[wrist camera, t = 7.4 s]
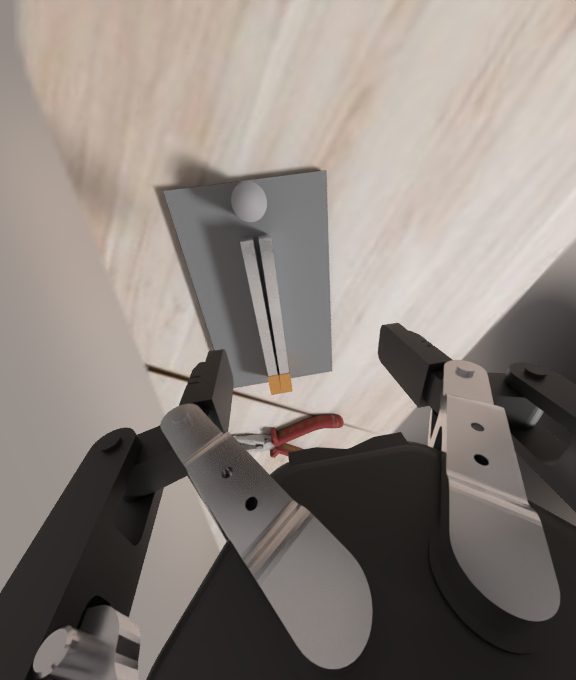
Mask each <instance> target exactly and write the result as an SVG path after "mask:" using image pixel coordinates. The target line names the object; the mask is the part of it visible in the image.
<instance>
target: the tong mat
mask: <svg viewBox="0 0 576 680" xmlns="http://www.w3.org/2000/svg"><path fill="white" fill-rule="evenodd" d="M163 192H164V195H165V198H166V201H167V205H168V208H169V211H170V214H171V217H172V220H173V223H174V226H175V229H176V232H177V236H178V239H179V242H180V245H181V248H182V251H183V254H184V257H185V260H186V263H187V267H188V270H189V273H190V276H191V279H192V282H193V285H194V288H195V291H196V294H197V298H198V301H199V304H200V307H201V310H202V313H203V316H204V319H205V322H206V325H207V329H208V332H209V335H210V338H211V341H212V344H213V347H214V350H221V349H225V351H226V353H227V357H228V360H229V364H230V367H231V371H232V375H233V382H234V386H233V388H237V387H243V386H249V385H254V384H260V383H266V382H269V381H268V375H267V368H266V363H265V358H264V353H263V349H262V344H261V339H260V334H259V330H258V325H257V320H256V315H255V311H254V306H253V301H252V296H251V292H250V287H249V282H248V277H247V273H246V268H245V263H244V258H243V254H242V249H241V244H240V241H241V239H242V238H247V237H253V239H254V244H255V250H256V255H257V261H258V266H259V272H260V277H261V283H262V288H263V294H264V299H265V305H266V310H267V315H268V321H269V326H270V332H271V337H272V343H273V348H274V354H275V359H276V361H277V353H276V347H275V340H274V334H273V328H272V321H271V315H270V308H269V302H268V296H267V289H266V283H265V276H264V270H263V264H262V257H261V251H260V244H259V238H258V236H261V235H270V236H271V238H272V246H273V254H274V261H275V269H276V277H277V284H278V292H279V299H280V307H281V315H282V322H283V330H284V338H285V345H286V353H287V360H288V366H289V371H290V377H291V378H295V377H301V376H306V375H312V374H318V373H324V372H329V371H332V348H331V314H330V280H329V245H328V211H327V177H326V170H324V171H316V172H308V173H301V174H293V175H285V176H277V177H269V178H261V179H254V180H246V181H238V182H230V183H222V184H214V185H207V186H199V187H191V188H183V189H175V190H167V191H163ZM277 366H278V364H277ZM278 372H279V371H278Z"/></svg>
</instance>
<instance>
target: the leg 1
mask: <svg viewBox="0 0 576 680" xmlns="http://www.w3.org/2000/svg"><path fill="white" fill-rule="evenodd" d="M240 244H241V249H242V254H243V258H244V263H245V268H246V273H247V277H248V282H249V287H250V292H251V296H252V301H253V306H254V311H255V315H256V320H257V325H258V330H259V334H260V339H261V344H262V349H263V353H264V358H265V363H266V368H267V375H268V381H269V386H270V391H271V395H274V394H279V393H282V391H281V384H280V377H279V372H278V366H277V361H276V359H275V354H274V348H273V343H272V337H271V332H270V326H269V321H268V315H267V310H266V305H265V299H264V294H263V288H262V283H261V277H260V272H259V266H258V261H257V255H256V250H255V244H254V239H253V237H247V238H242V239H241V241H240Z"/></svg>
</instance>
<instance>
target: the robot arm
mask: <svg viewBox="0 0 576 680" xmlns="http://www.w3.org/2000/svg"><path fill="white" fill-rule="evenodd" d="M378 356H379V359H380V361H381V363H382V364H383V365H384V366H385V368H386V369H387V370H388V371H389V373H390V374H391V375H392V376H393V377H394V379H395V380H396V381H397V382H398V384H399V385H400V386H401V387H402V388H403V390H404V391H405V392H406V393H407V394H408V396H409V397H410V398H411V399H412V401H413V402H414V403H415V404H416V405H417V407H418V408H419V407H425V406H430V407H431V408H432V410H431V413H430V423H429V435H428V446H427V445H424V444H419V443H415V442H409V441H406V439H405V438H404V436H403V435H402V433H401V432H399V433H393V434H388V435H382V436H377V437H373V438H371V439H369V440H366V441H364V442H362V443H360V444H358V445H356V446H354V447H352V448H349V449H335V448H318V447H316V448H310V449H304V450H299V451H293V452H288V457H289V462H288V463H286V464H284V465H282V466H280V467H279V468H277V469H276V470H275V471H274V472H272V473H271V474H270V475H269V474H268V473H267V472H266V471H265V470H264V469H263V467H262V466H261V465H260V464H259V463H258V462H257V461H256V460H255V459H254V458H253V457H252V456H251V455H250V454H249V453H248V452H247V451H246V450H245V449H244V448H243V446H242V445H241V444H240V443H239V442H238V441H237V440H236V439H235V438H234V437H233V436H232V435H231V434H230V433H229V432H228V427H229V419H230V411H231V403H232V394H233V386H234V382H233V375H232V371H231V367H230V364H229V360H228V357H227V353H226V351H225V349H221V350H214V351H209V352H208V355H207V358H206V361H205V362H201V363H199V364H198V365H197V366H196V367H195V368H194V369H193V370H192V373H191V375H190V379H189V381H188V383H187V384H188V385H187V386H186V388H185V391H184V394H183V396H182V399H181V401H180V404H179V406H178V407H176V408H174V409H172V410H171V411H169V412H168V413H167V414H166V415H165V416H164V418H163V419H162V421H161V425H160V426H158V427H155V428H153V429H150V430H148V431H145V432H143V433H141V434H138V435H136V433H135V432H134V431H133V429H131V428H120V429H117V430H114V431H112V432H110V433H108V434H106V435H105V436H103V437H102V438H100V439H99V440H98V441H97V442H96V443H95V444H94V445H93V446H92V447H91V449H90V450H89V452H88V453H87V455H86V456H85V458H84V460H83V461H82V463H81V464H80V466H79V468H78V469H77V471H76V473H75V474H74V476H73V477H72V479H71V481H70V482H69V484H68V485H67V487H66V488H65V490H64V492H63V493H62V495H61V496H60V498H59V500H58V501H57V503H56V504H55V507H54V508H53V509H52V511H51V513H50V514H49V516H48V517H47V519H46V521H45V522H44V524H43V525H42V527H41V529H40V530H39V532H38V533H37V535H36V537H35V538H34V540H33V541H32V543H31V545H30V546H29V548H28V549H27V551H26V553H25V554H24V556H23V557H22V559H21V561H20V562H19V564H18V565H17V567H16V569H15V570H14V572H13V573H12V575H11V577H10V578H9V580H8V581H7V583H6V585H5V586H4V588H3V589H2V591H1V593H0V680H139V674H138V658H139V651H140V631H139V628H138V626H137V624H136V623H135V622H134V621H133V620H132V619H131V618H129V614H130V611H131V607H132V603H133V600H134V596H135V592H136V588H137V585H138V581H139V577H140V574H141V570H142V566H143V563H144V559H145V555H146V552H147V548H148V544H149V540H150V537H151V533H152V529H153V526H154V522H155V518H156V514H157V511H158V507H159V503H160V500H161V496H162V492H163V489H164V487H165V486H167V485H169V484H171V483H173V482H175V481H177V480H179V479H181V478H183V477H185V476H188V478H189V479H190V481H191V483H192V484H193V486H194V488H195V489H196V491H197V493H198V494H199V496H200V498H201V499H202V501H203V502H204V504H205V506H206V507H207V509H208V511H209V512H210V514H211V516H212V518H213V519H214V521H215V523H216V524H217V526H218V528H219V530H220V531H221V533H222V535H223V536H224V538H225V539H226V541H227V542H226V544H225V545H224V547H223V549H222V550H221V552H220V554H219V555H218V557H217V559H216V560H215V562H214V564H213V565H212V567H211V569H210V570H209V572H208V574H207V575H206V577H205V579H204V580H203V582H202V584H201V585H200V587H199V589H198V590H197V592H196V594H195V595H194V597H193V599H192V600H191V602H190V604H189V605H188V607H187V609H186V610H185V612H184V614H183V615H182V617H181V619H180V620H179V622H178V623H177V625H176V627H175V629H174V630H173V632H172V634H171V635H170V637H169V639H168V640H167V642H166V643H165V645H164V647H163V648H162V650H161V652H160V654H159V655H158V657H157V659H156V661H155V663H154V665H153V666H152V668H151V670H150V673H149V675H148V677H147V679H146V680H576V526H574V525H572V524H570V523H569V522H567V521H565V520H563V519H561V518H560V517H558V516H556V515H554V514H552V513H551V512H549V511H547V510H545V509H543V508H542V507H540V506H538V505H536V504H535V503H533V502H531V501H529V500H527V498H526V494H525V490H524V486H523V482H522V478H521V473H520V469H519V465H518V461H517V457H516V453H517V454H518V455H519V456H520V457H521V458H522V459H523V460H524V461H525V462H526V463H527V464H528V465H529V466H530V467H531V468H532V469H533V470H534V471H535V472H536V473H537V474H538V475H539V476H540V477H541V478H542V479H543V480H544V481H545V482H546V483H547V484H548V485H549V486H550V487H551V488H552V489H553V490H554V491H555V492H556V493H557V494H558V495H559V496H560V497H561V498H562V499H563V500H564V501H565V502H566V503H567V504H568V505H569V506H570V507H571V508H572V509H573V510H574V511H575V512H576V385H575V384H574V383H572V382H571V381H569V380H567V379H565V378H564V377H562V376H560V375H559V374H557V373H555V372H553V371H552V370H550V369H547V368H545V367H542V366H539V365H535V364H531V363H514V364H512V365H510V367H509V369H508V371H507V373H506V374H504V373H487V372H486V371H485V370H484V369H483V368H482V367H480V366H479V365H476V364H474V363H471V362H468V361H463V360H452V359H451V358H449V357H448V356H447V355H445V354H444V353H443V352H441V351H440V350H439V349H438V348H436V347H435V346H433V345H432V344H431V343H430V342H428V341H427V340H426V339H424V338H423V337H422V336H421V335H419V334H416V333H414V332H412V331H408V330H407V329H405V328H404V327H403V326H402V325H400V324H399V323H393V324H387V325H382V326H381V329H380V338H379V347H378ZM543 412H545V413H546V414H547V415H549V416H550V417H552V418H553V419H554V420H555V421H557V422H558V423H559V424H561V425H562V426H563V427H565V428H566V429H567V431H568V432H569V433H570V435H571V439H572V442H571V444H570V446H569V447H567V446H566V445H565V444H564V443H563V442H561V441H560V440H559V439H558V438H556V437H555V436H554V435H553V434H551V433H550V432H549V431H548V430H547V429H545V428H544V427H543V426H542V425H540V424H539V423H538V420H539V418H540V417H541V415H542V413H543ZM515 452H516V453H515Z"/></svg>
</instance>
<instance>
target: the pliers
mask: <svg viewBox="0 0 576 680" xmlns="http://www.w3.org/2000/svg"><path fill="white" fill-rule="evenodd" d="M342 426H343V419H342V417H341V416H339V415H317V416H314V417H311V418H308V419H305V420H303V421H301V422H298V423H296V424H294V425H291V426H289V427H287V428H284V429H282V430H280V431H276V429H275V428H271V435H262V434H255V435H246V436H238V437H234V438H235V439H236V440H237V441H238V442H240V443H245V444H242V446H243V448H244V449H245V450H246V451H250V452H259V451H266V450H270V456H271V457H274V458H275V457H276V456H277V455H278V454H279V453H280V454H283V455H286V456H288V452H293V451H299V450H304V449H302V448H299V447H296V446H293V445H290V444H287V443H286V442H288V441H291V440H293V439H295V438H298V437H300V436H302V435H305V434H307V433H310V432H312V431H315V430H318V429H323V428H340V427H342Z"/></svg>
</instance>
